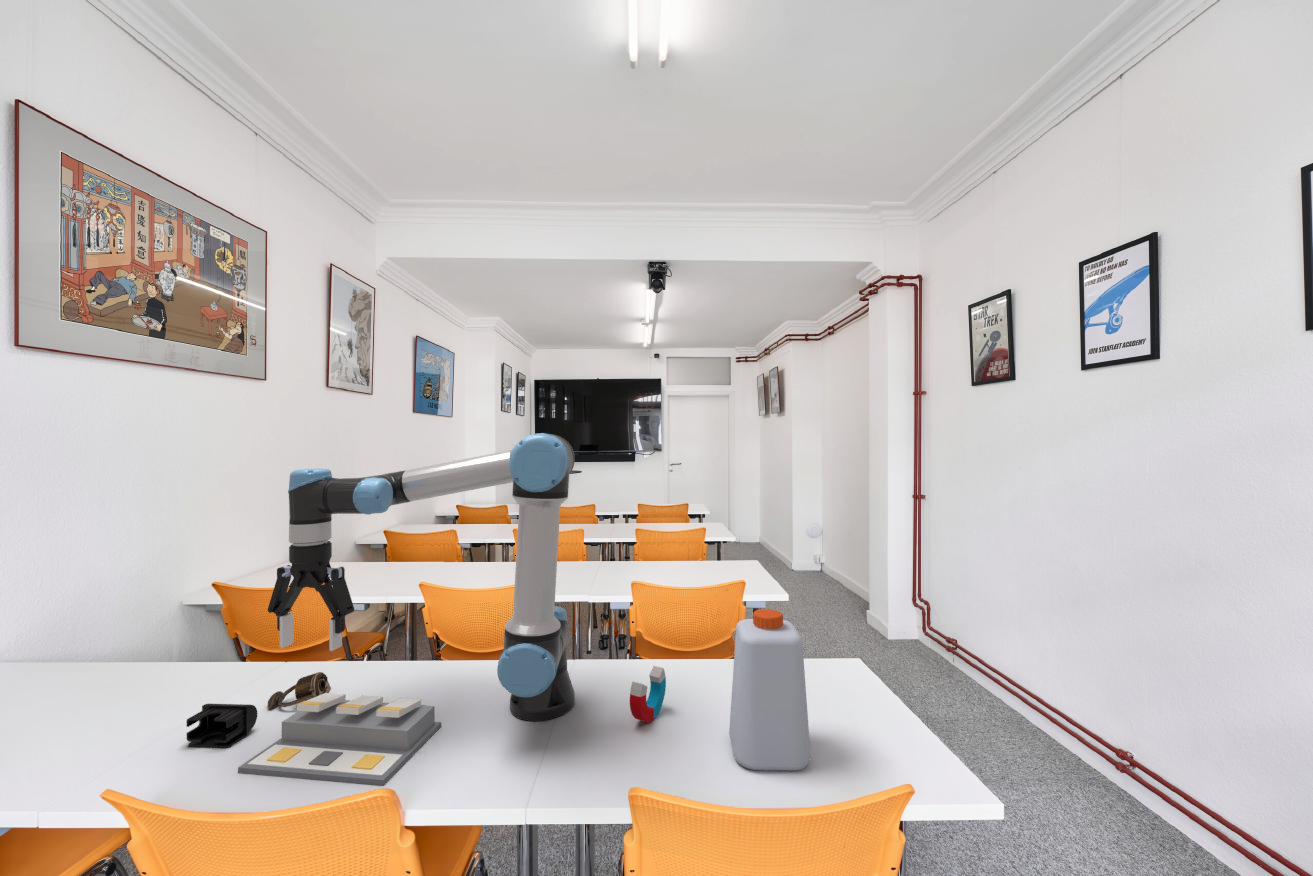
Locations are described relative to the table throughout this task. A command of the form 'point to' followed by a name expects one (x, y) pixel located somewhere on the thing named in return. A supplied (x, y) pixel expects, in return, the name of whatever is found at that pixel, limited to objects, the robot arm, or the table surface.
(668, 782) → the table surface
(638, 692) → the magnet
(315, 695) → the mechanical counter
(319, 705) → the rocker
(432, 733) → the switch unit
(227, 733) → the end cap
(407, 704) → the rocker
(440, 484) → the robot arm
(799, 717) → the plastic bottle
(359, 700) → the rocker middle
